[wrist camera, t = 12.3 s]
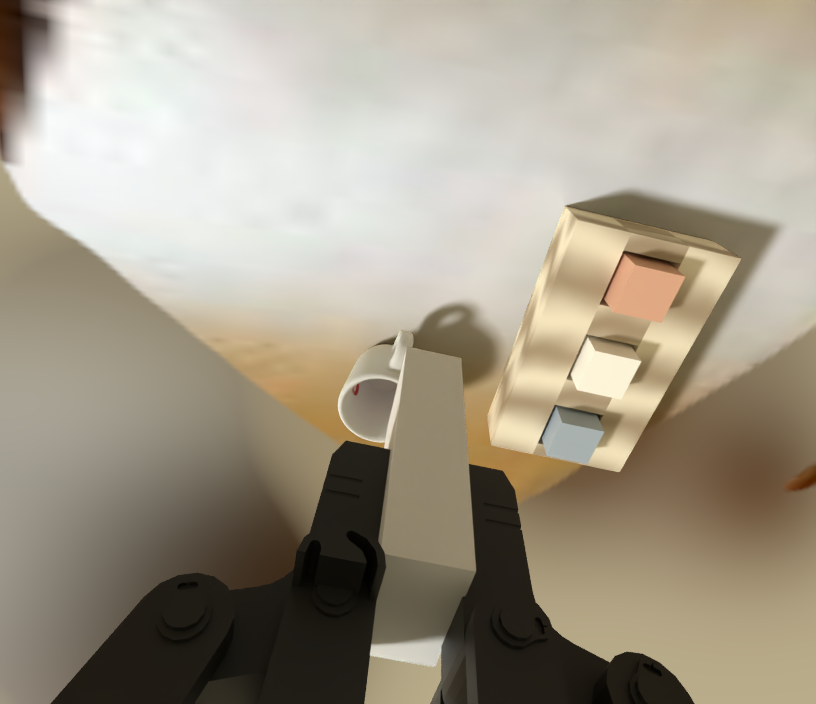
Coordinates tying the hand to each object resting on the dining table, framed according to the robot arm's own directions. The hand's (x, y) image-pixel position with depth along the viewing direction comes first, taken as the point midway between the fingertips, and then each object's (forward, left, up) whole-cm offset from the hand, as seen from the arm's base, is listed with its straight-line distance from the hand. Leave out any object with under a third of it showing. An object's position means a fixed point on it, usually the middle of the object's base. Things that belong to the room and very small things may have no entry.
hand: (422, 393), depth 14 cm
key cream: (+12, +19, -32) cm, 39 cm away
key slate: (+20, +19, -32) cm, 42 cm away
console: (+12, +19, -34) cm, 41 cm away
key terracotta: (+4, +19, -32) cm, 37 cm away
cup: (+19, 0, -35) cm, 40 cm away
